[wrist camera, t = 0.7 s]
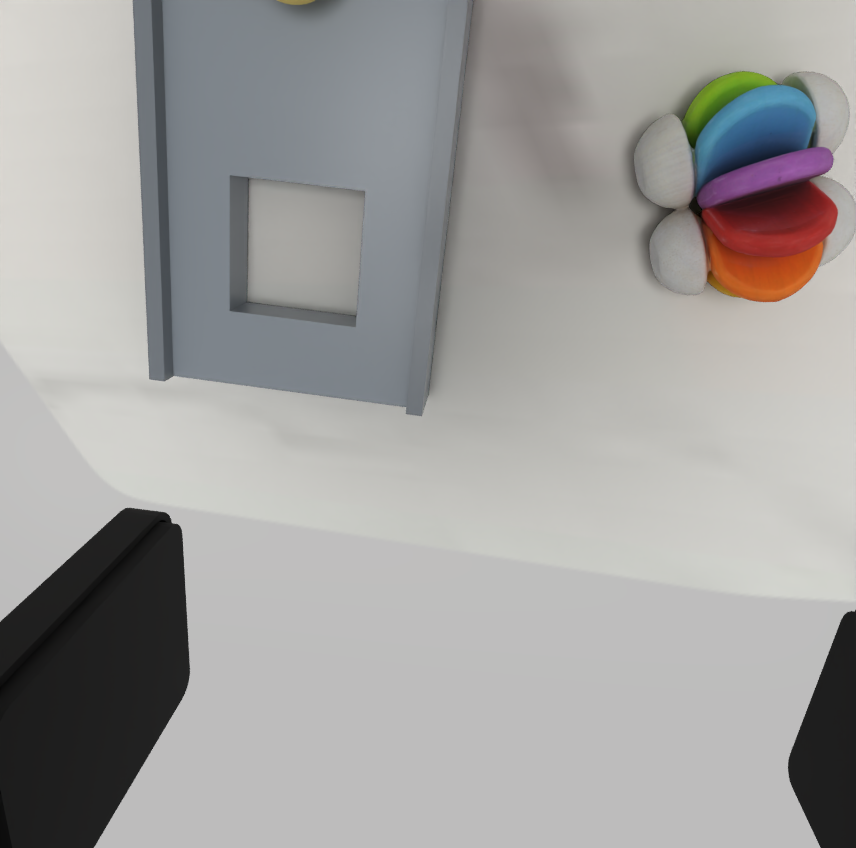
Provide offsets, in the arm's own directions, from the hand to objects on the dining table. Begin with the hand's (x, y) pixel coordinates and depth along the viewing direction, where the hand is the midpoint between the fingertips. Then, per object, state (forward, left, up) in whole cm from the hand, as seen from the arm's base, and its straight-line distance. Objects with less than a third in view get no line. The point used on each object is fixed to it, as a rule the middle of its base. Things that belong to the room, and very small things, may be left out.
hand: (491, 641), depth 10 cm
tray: (-8, -10, -27) cm, 30 cm away
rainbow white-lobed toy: (-7, +10, -27) cm, 30 cm away
